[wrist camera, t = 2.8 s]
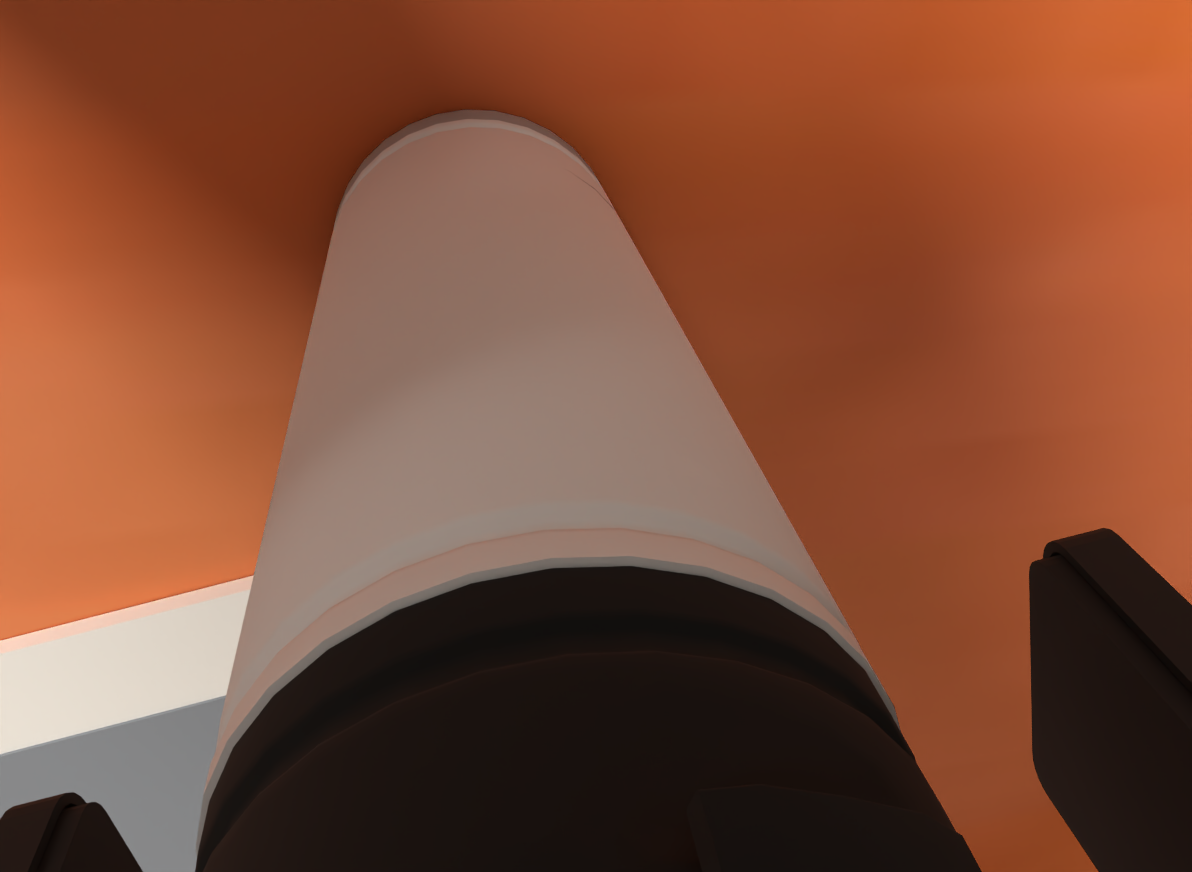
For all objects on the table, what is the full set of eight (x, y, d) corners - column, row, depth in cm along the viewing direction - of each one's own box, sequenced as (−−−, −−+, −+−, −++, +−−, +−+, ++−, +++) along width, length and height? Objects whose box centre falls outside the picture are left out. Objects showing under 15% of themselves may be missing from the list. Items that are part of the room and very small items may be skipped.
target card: (-185, 688, 27) (-199, 707, 26) (435, 528, 27) (436, 543, 27) (118, 1082, 36) (113, 1104, 35) (583, 957, 36) (586, 976, 35)
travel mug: (661, 147, 24) (1360, 973, 6) (560, 405, 26) (842, 1496, 9) (382, 46, 22) (235, 808, 4) (303, 334, 24) (12, 1530, 7)
